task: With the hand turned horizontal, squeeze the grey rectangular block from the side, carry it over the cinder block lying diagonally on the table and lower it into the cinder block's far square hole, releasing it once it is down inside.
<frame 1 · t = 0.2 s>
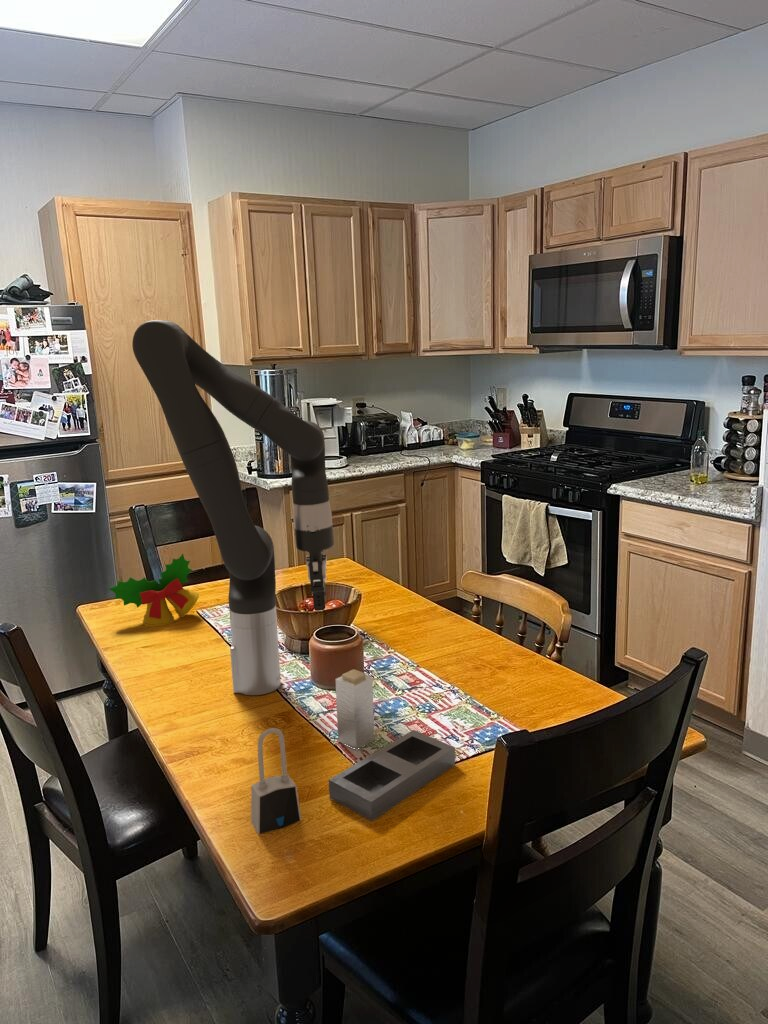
hand: (320, 602, 156), 18 cm above the table, tool pointing down, fingers open, 8 cm apart
padlock: (276, 822, 115), on the table
ornament: (157, 622, 198), on the table
cinder block: (394, 780, 125), on the table
grey rectangular block: (356, 741, 137), on the table
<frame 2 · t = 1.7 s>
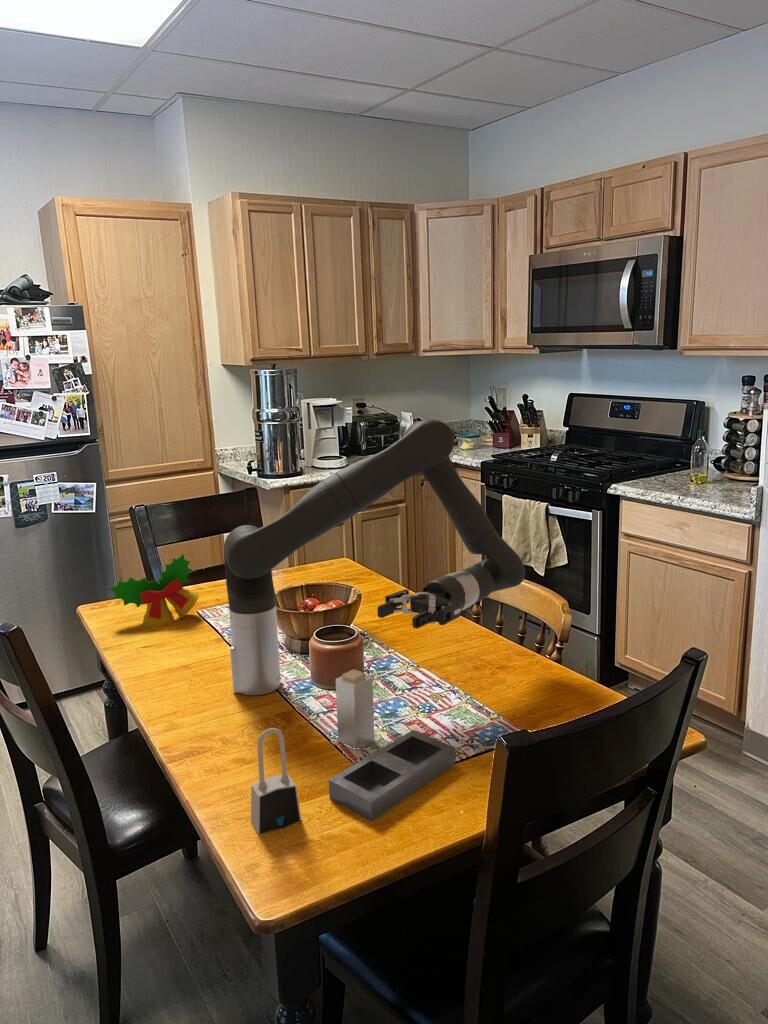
hand: (396, 617, 141), 20 cm above the table, tool horizontal, fingers open, 8 cm apart
nothing on the table moved.
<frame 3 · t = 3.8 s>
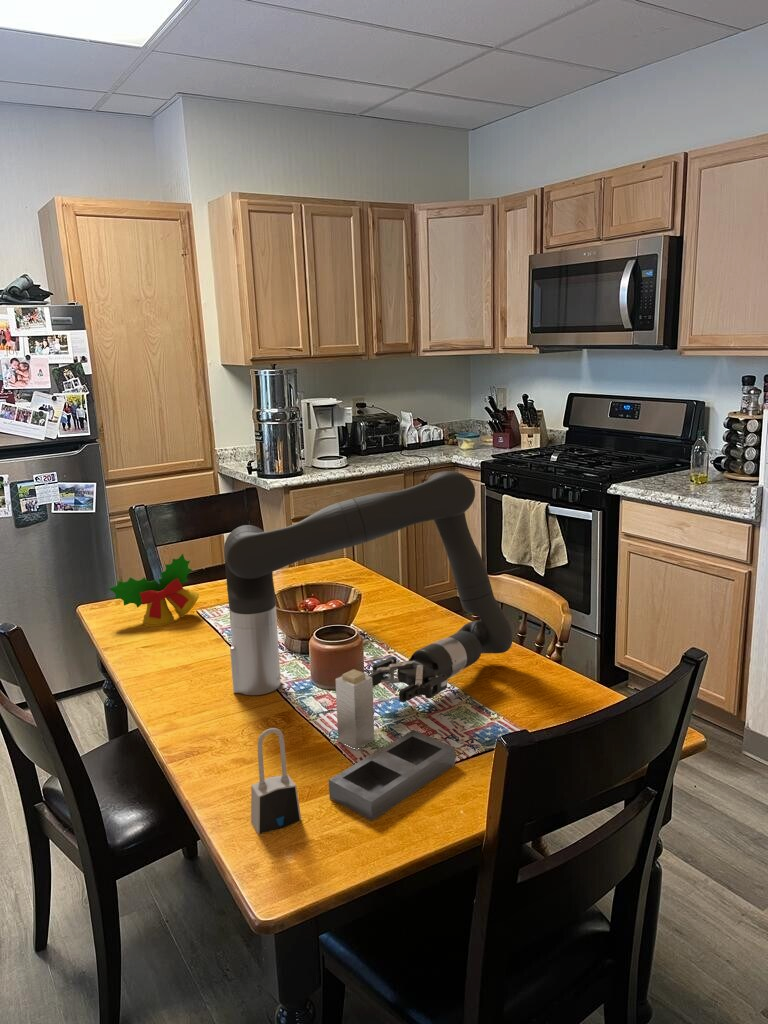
hand: (382, 690, 141), 7 cm above the table, tool horizontal, fingers open, 8 cm apart
nothing on the table moved.
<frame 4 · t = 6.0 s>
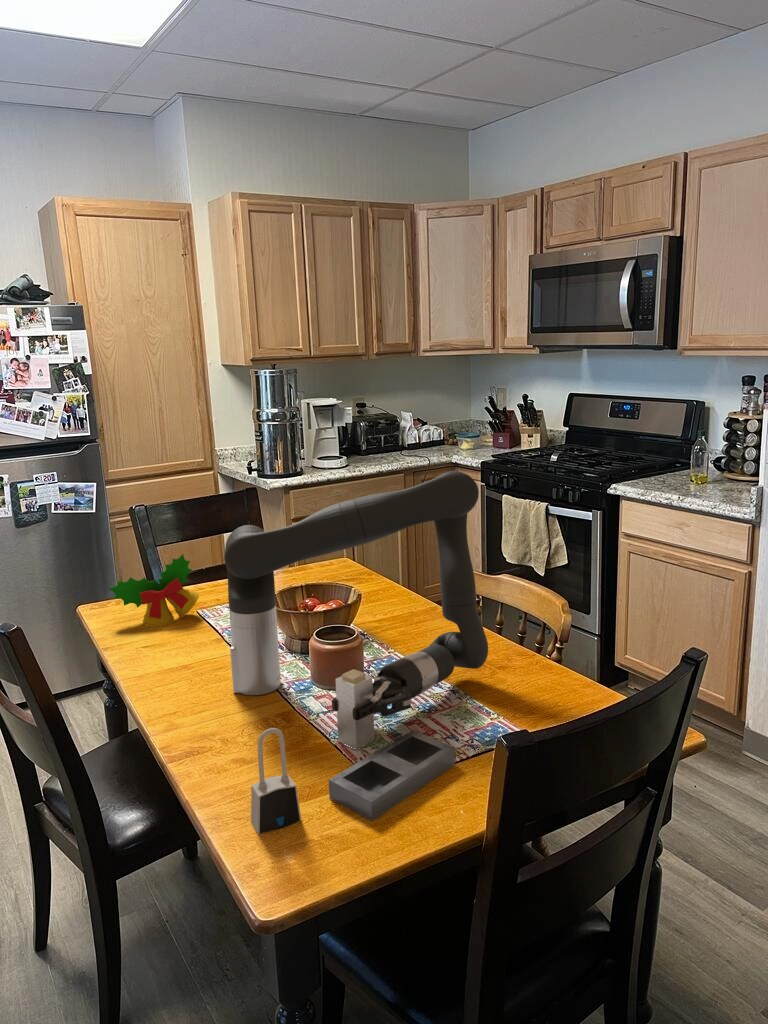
hand: (344, 710, 134), 7 cm above the table, tool horizontal, fingers closed on grey rectangular block, 4 cm apart
grey rectangular block: (356, 741, 137), on the table, touching gripper
everything else where it was.
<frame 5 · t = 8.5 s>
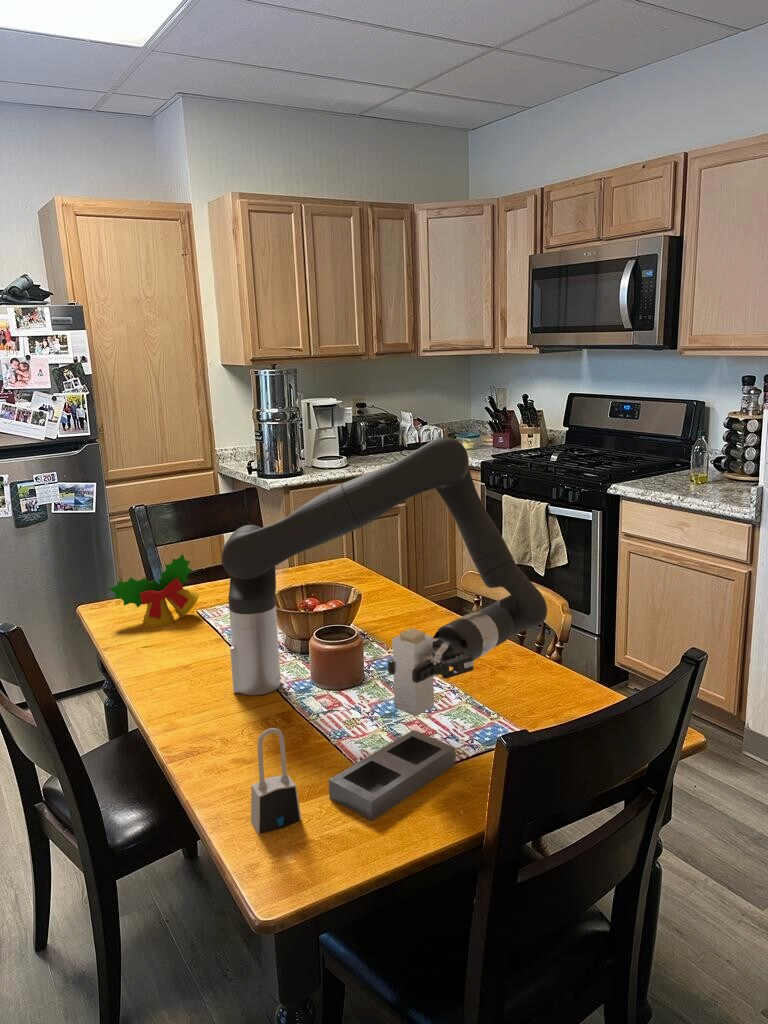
hand: (402, 672, 122), 18 cm above the table, tool horizontal, fingers closed on grey rectangular block, 4 cm apart
grey rectangular block: (414, 706, 126), point 11 cm above the table, touching gripper
everything else where it was.
when the fingers open (8 cm above the table, at t = 11.1 s): grey rectangular block stays where it is, resting on cinder block.
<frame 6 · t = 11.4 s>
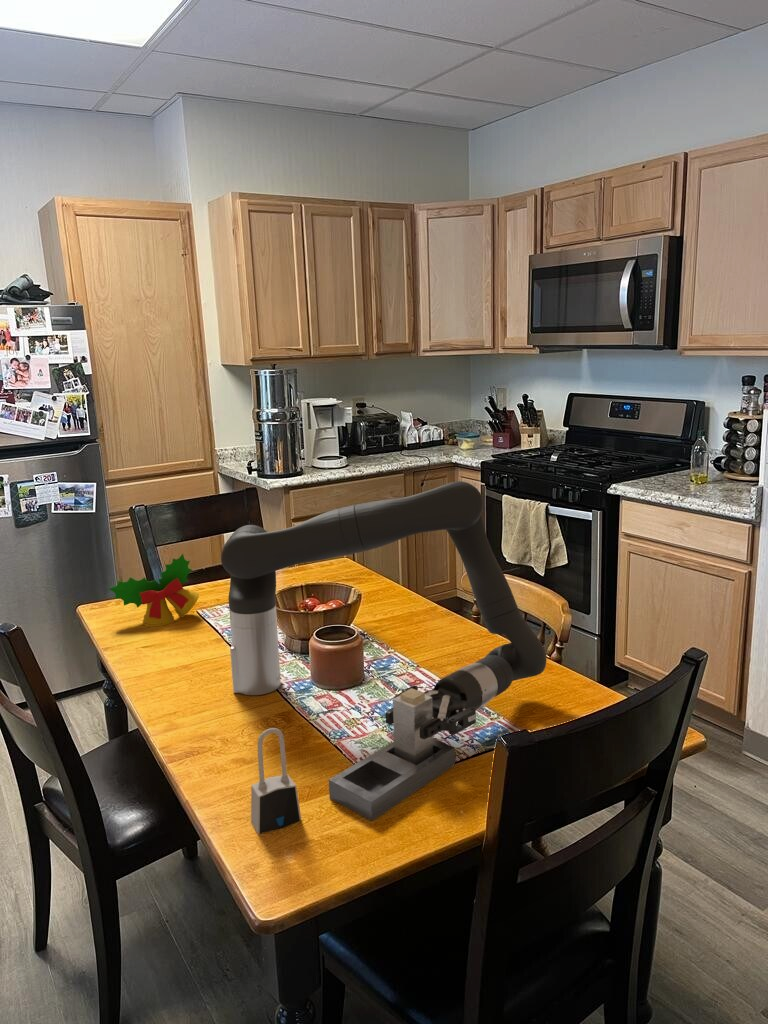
hand: (404, 726, 125), 9 cm above the table, tool horizontal, fingers open, 6 cm apart
grey rectangular block: (414, 765, 128), resting on cinder block
everything else where it was.
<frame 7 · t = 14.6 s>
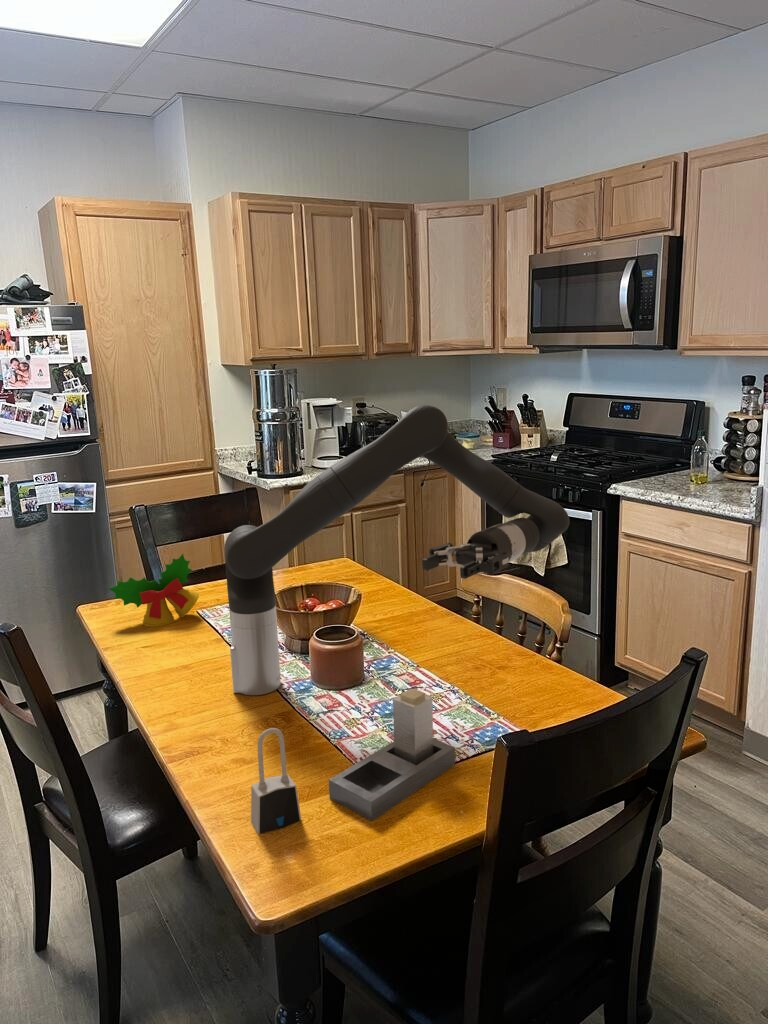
hand: (442, 569, 135), 30 cm above the table, tool horizontal, fingers open, 8 cm apart
nothing on the table moved.
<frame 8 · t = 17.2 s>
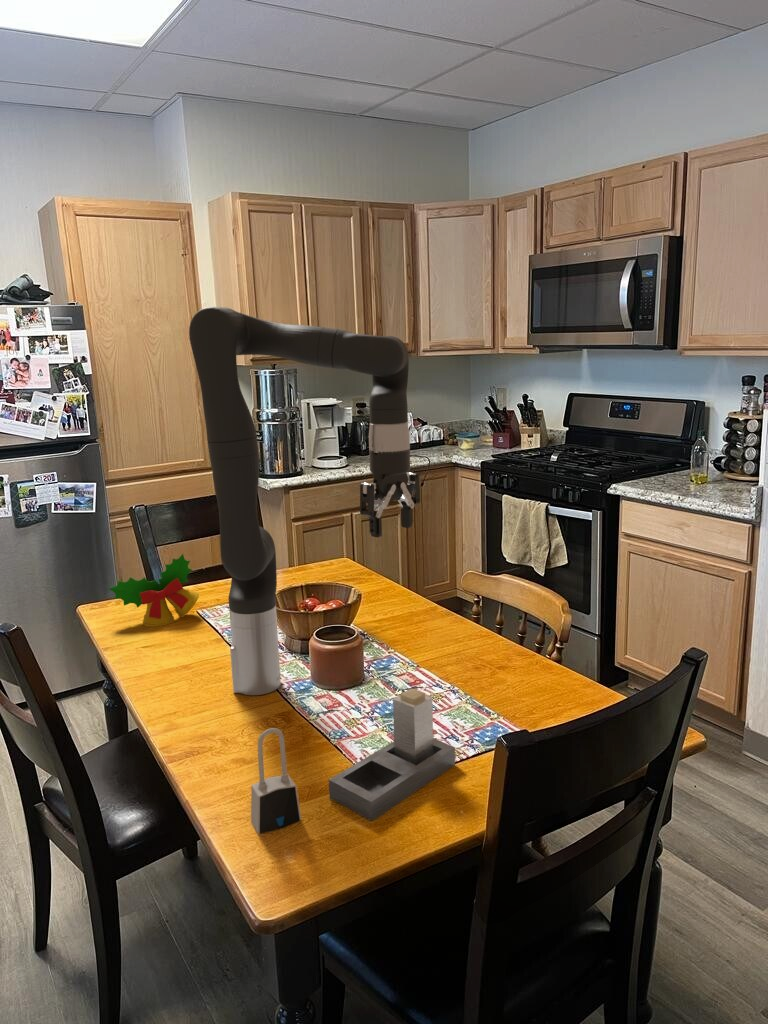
hand: (391, 531, 147), 33 cm above the table, tool pointing down, fingers open, 8 cm apart
nothing on the table moved.
at the end: grey rectangular block 0.1 cm from the target spot on the cinder block, point 0.4 cm above the cinder block's base; grey rectangular block tilted 0°; the gripper is holding nothing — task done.
